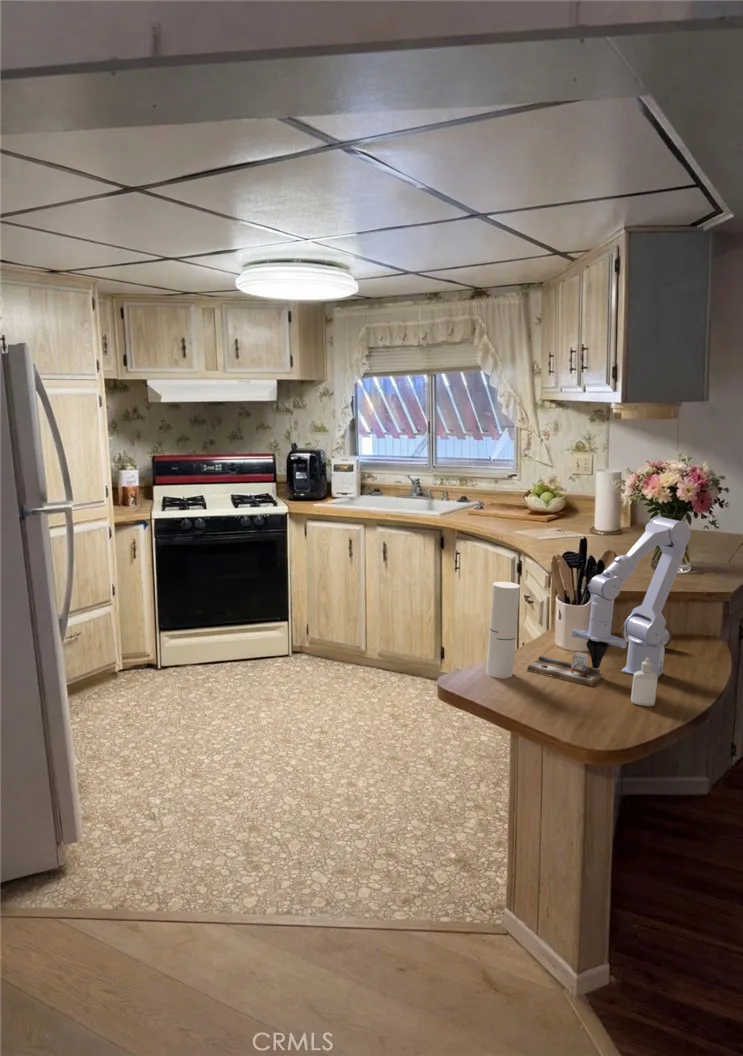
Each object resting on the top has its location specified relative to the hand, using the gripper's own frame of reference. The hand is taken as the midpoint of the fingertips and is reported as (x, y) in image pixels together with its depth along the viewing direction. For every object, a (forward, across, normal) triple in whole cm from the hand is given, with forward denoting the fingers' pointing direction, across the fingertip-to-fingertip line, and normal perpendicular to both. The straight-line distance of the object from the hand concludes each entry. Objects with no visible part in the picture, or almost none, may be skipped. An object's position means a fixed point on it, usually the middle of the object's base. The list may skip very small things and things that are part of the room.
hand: (595, 667), depth 206 cm
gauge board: (+3, -8, -3) cm, 9 cm away
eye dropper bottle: (+3, +15, -10) cm, 19 cm away
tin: (+3, +4, +38) cm, 38 cm away
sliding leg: (+1, -5, -2) cm, 5 cm away
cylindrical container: (+3, -22, -15) cm, 26 cm away
